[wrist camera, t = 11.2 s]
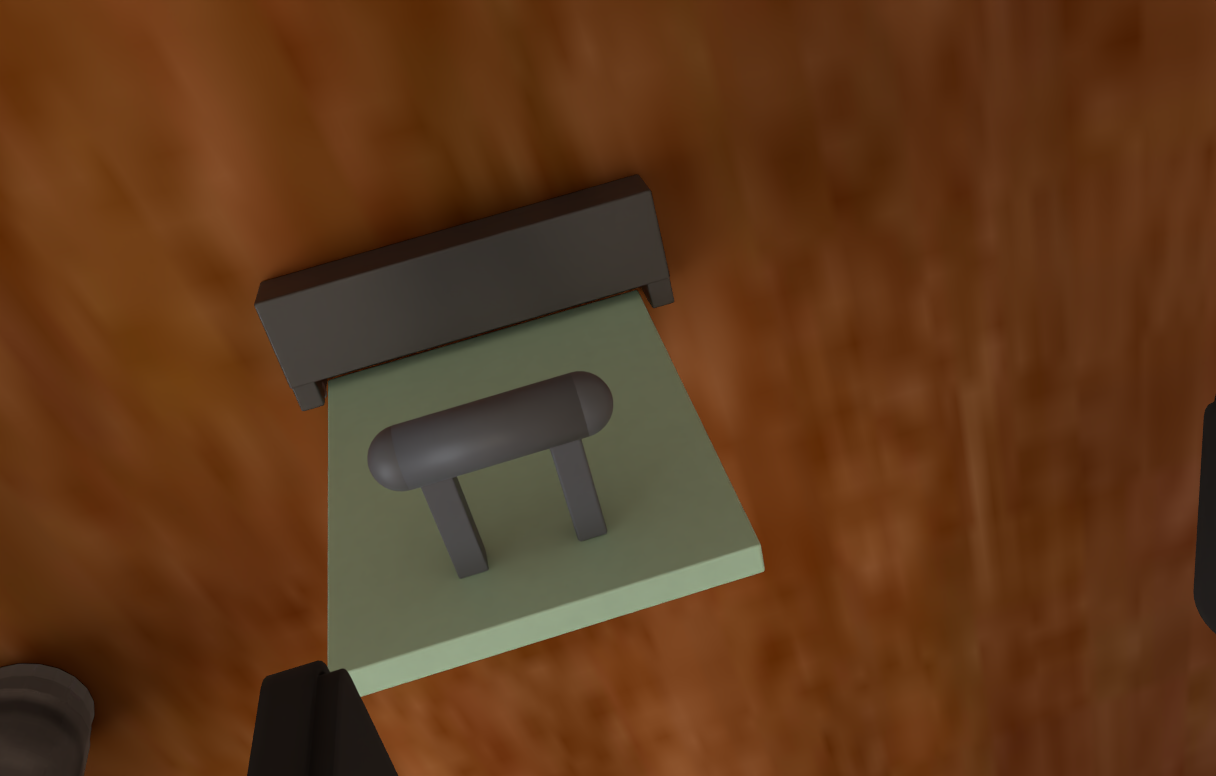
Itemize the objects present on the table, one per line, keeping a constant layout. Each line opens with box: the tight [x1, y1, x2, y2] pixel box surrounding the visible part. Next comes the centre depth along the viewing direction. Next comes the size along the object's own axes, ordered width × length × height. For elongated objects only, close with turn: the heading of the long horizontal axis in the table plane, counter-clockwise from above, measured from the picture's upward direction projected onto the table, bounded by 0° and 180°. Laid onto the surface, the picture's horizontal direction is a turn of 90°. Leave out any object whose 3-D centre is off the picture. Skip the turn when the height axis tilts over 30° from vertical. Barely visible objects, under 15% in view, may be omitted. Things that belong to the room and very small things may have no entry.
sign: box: [328, 290, 765, 697], centre depth 30 cm, size 13×11×6 cm
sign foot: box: [254, 175, 674, 411], centre depth 35 cm, size 4×13×2 cm, turn 103°
